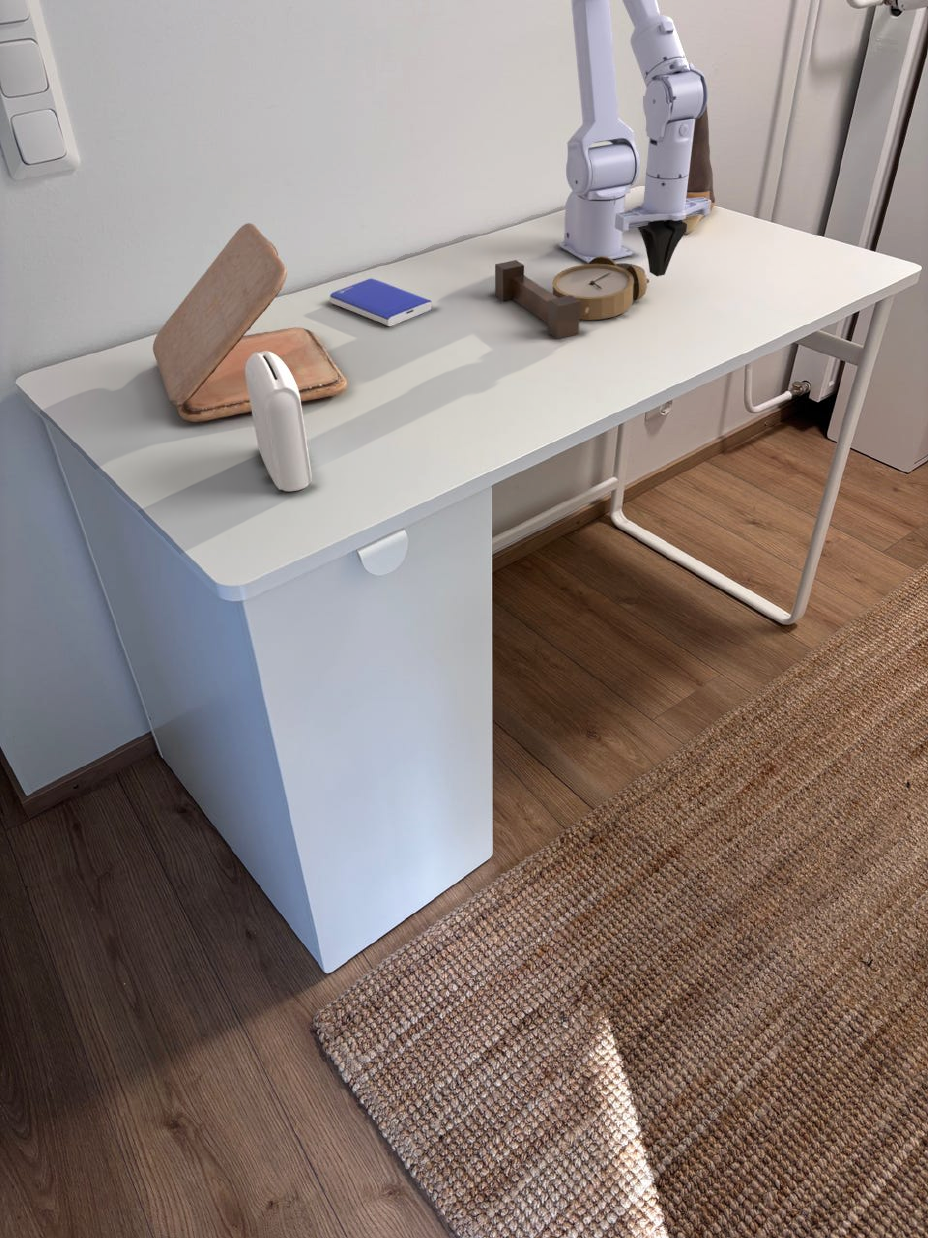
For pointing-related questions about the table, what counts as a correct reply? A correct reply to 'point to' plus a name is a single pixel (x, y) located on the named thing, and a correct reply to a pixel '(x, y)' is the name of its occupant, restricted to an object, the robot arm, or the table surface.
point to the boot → (700, 169)
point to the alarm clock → (601, 287)
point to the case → (236, 335)
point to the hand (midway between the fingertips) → (657, 273)
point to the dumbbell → (537, 299)
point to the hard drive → (380, 302)
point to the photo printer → (278, 421)
